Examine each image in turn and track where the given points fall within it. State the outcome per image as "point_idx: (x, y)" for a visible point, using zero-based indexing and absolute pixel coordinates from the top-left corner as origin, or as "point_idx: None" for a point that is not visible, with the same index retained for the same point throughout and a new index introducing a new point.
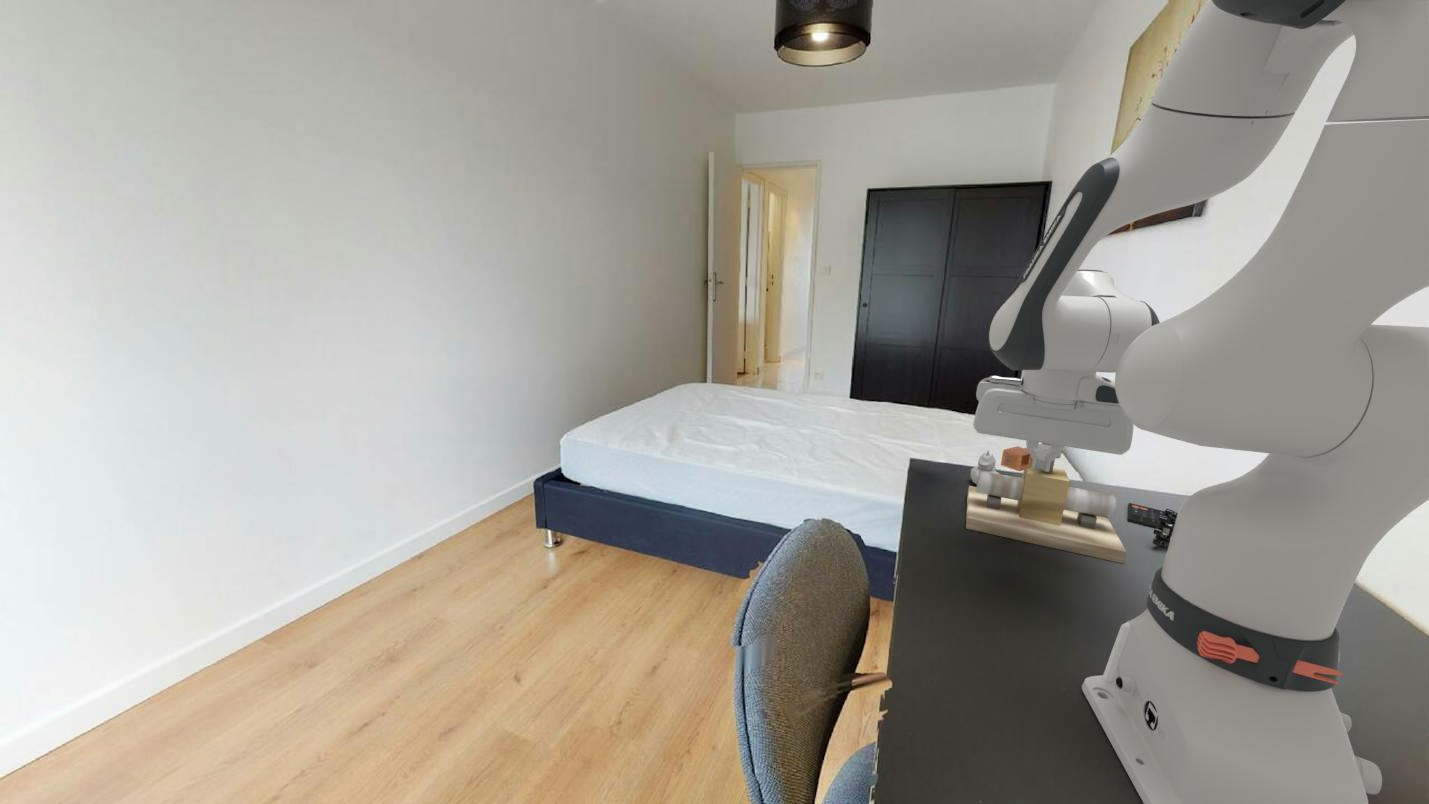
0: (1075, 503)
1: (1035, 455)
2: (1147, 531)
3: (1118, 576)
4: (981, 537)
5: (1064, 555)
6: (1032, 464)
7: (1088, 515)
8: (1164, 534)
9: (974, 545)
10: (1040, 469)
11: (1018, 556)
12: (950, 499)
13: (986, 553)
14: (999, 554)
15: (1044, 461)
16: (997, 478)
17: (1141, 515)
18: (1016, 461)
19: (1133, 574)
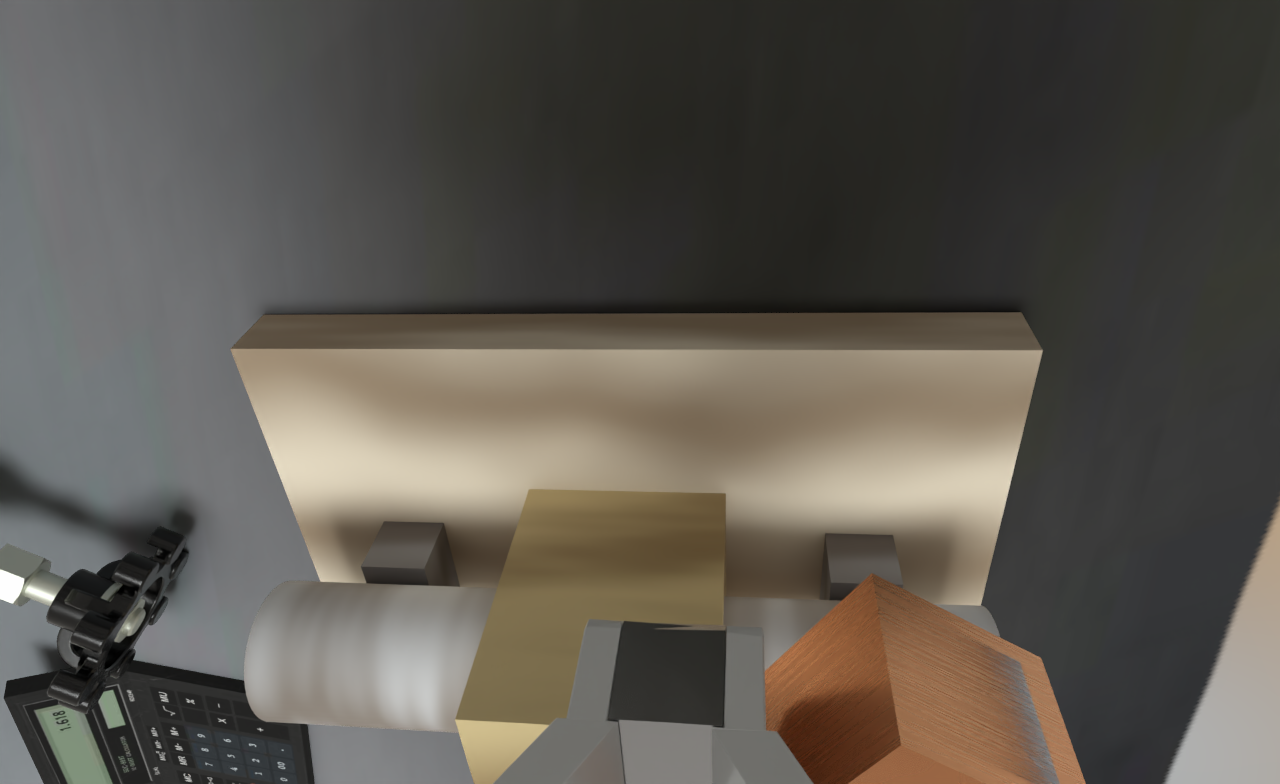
0: (446, 612)
1: (746, 771)
2: (232, 645)
3: (263, 157)
4: (941, 241)
5: (508, 257)
6: (757, 663)
7: (398, 580)
8: (146, 603)
9: (1008, 99)
10: (669, 625)
11: (745, 98)
12: (1041, 613)
13: (944, 20)
14: (859, 56)
15: (636, 711)
16: None
17: (261, 743)
18: (932, 678)
19: (212, 222)
